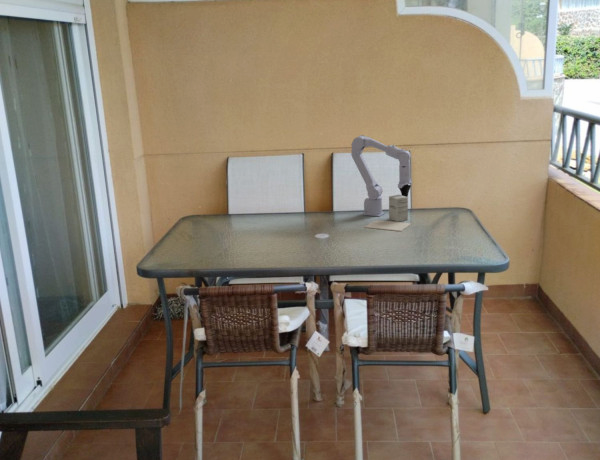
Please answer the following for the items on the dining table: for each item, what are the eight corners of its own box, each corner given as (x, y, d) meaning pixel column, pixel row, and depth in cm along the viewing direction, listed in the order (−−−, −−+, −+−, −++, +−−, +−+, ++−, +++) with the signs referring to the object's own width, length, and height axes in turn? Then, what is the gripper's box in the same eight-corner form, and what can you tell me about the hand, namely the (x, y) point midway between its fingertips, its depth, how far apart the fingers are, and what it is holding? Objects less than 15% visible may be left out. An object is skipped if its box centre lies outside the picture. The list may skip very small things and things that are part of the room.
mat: (364, 227, 307) (364, 226, 307) (376, 220, 318) (375, 220, 318) (401, 231, 297) (401, 230, 297) (411, 224, 308) (411, 223, 308)
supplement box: (388, 219, 320) (388, 196, 317) (400, 217, 323) (400, 194, 320) (396, 222, 314) (396, 198, 310) (408, 220, 317) (408, 196, 313)
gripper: (406, 176, 312) (406, 202, 316) (416, 171, 324) (416, 196, 327) (394, 175, 316) (394, 201, 319) (404, 171, 327) (404, 195, 331)
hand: (404, 198), depth 324 cm, fingers closed
